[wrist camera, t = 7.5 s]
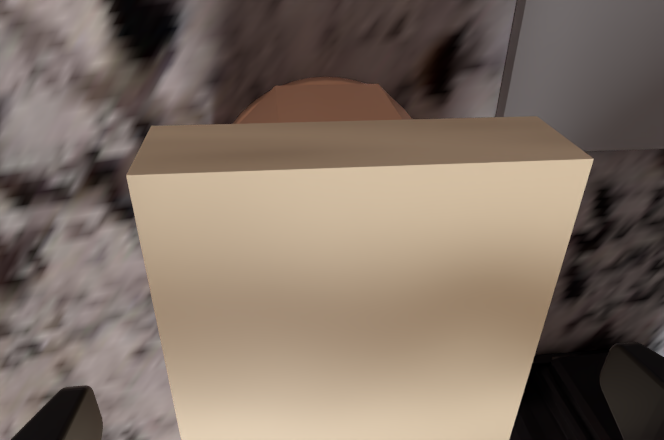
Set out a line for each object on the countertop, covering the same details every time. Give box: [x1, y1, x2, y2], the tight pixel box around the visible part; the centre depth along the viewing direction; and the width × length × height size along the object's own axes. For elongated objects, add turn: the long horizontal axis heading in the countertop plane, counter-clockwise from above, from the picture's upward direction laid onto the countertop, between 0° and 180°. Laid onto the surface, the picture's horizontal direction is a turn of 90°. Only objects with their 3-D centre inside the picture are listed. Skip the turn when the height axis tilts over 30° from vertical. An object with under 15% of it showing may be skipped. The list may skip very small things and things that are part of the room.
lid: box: [126, 116, 594, 440], centre depth 11 cm, size 7×7×2 cm
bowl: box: [232, 77, 412, 124], centre depth 13 cm, size 6×6×5 cm
